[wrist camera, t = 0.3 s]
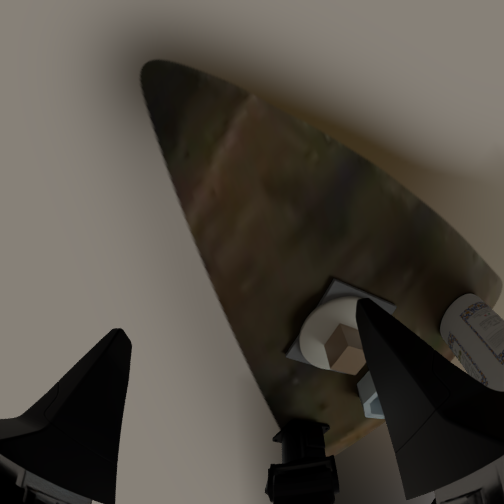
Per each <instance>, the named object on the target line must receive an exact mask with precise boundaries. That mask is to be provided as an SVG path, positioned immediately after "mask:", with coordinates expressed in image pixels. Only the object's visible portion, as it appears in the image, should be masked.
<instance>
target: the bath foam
mask: <svg viewBox="0 0 504 504" xmlns="http://www.w3.org/2000/svg"><path fill="white" fill-rule="evenodd" d="M440 333H441V336H442V338H443V339H444V341H445V342H446V343H447V345H448V346H449V347H450V349H451V350H452V352H453V353H454V354H455V356H456V357H457V358H458V360H459V361H460V363H461V364H462V365H463V367H464V368H465V370H466V371H467V373H468V374H469V375H470V376H472V377H473V378H475V379H476V380H478V381H479V382H481V383H482V384H484V385H485V386H487V387H489V388H491V389H493V390H496V391H503V392H504V320H503V319H502V318H501V317H500V316H499V315H498V314H496V313H495V312H494V311H493V310H492V309H491V308H490V307H489V306H488V305H487V304H486V303H485V302H484V301H482V300H481V299H480V298H479V297H478V296H476V295H474V294H465V295H463V296H461V297H459V298H458V299H456V300H455V301H454V302H453V303H452V304H451V305H450V307H449V308H448V309H447V311H446V312H445V314H444V316H443V318H442V321H441V325H440Z"/></svg>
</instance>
